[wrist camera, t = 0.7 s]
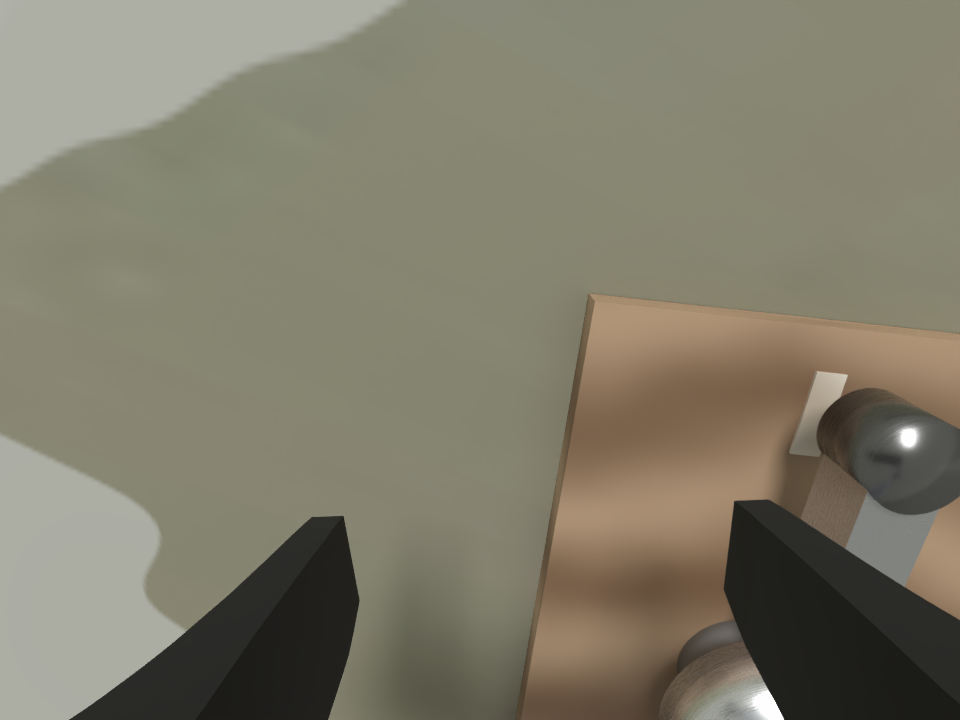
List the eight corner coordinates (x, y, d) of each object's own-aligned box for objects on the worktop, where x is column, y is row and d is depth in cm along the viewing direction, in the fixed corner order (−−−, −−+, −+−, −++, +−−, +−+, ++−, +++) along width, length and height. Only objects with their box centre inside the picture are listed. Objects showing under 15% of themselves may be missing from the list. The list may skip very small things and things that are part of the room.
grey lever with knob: (821, 787, 21) (861, 863, 18) (641, 769, 21) (659, 842, 18) (997, 401, 15) (1084, 439, 13) (756, 374, 15) (801, 409, 13)
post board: (972, 800, 25) (1032, 879, 22) (509, 752, 25) (511, 825, 22) (1231, 363, 18) (1368, 398, 15) (588, 293, 18) (606, 315, 15)
